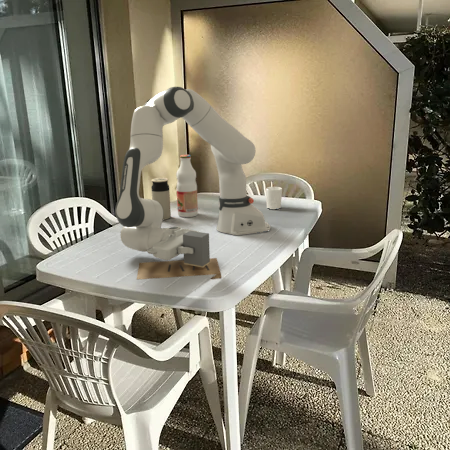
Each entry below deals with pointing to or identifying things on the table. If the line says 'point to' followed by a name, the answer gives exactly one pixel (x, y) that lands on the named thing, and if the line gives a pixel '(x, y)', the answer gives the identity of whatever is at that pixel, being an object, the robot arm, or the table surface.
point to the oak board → (176, 269)
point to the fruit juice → (186, 188)
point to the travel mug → (162, 195)
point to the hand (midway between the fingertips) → (198, 247)
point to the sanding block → (197, 248)
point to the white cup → (273, 197)
